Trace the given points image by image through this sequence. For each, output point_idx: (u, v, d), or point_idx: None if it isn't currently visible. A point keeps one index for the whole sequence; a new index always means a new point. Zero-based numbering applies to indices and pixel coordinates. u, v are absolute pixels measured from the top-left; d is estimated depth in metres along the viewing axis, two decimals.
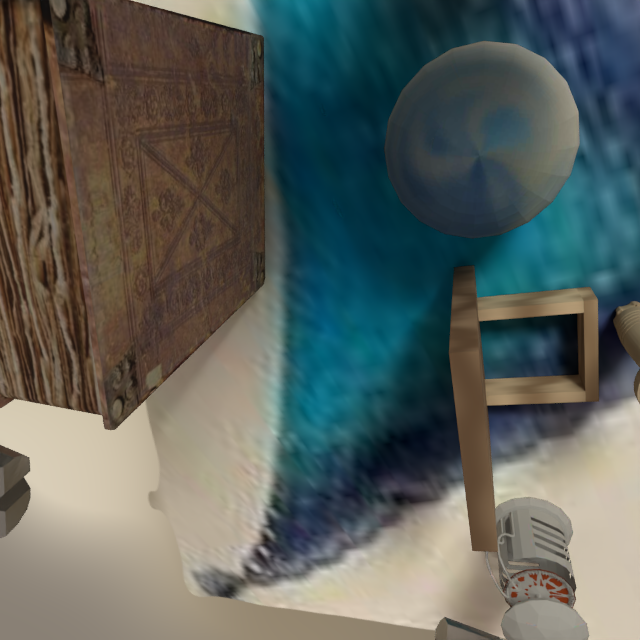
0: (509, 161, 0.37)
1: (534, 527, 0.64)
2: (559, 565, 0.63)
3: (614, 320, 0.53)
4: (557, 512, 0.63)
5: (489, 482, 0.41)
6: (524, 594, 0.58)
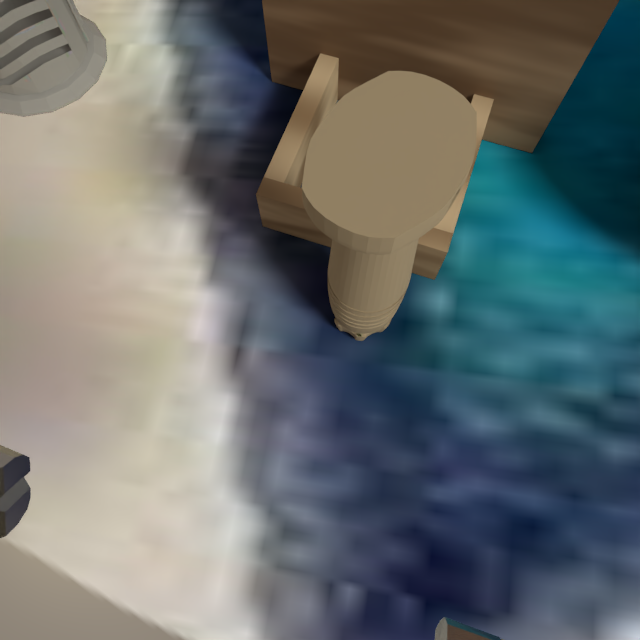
0: None
1: (42, 57, 0.36)
2: None
3: None
4: (50, 100, 0.36)
5: None
6: None
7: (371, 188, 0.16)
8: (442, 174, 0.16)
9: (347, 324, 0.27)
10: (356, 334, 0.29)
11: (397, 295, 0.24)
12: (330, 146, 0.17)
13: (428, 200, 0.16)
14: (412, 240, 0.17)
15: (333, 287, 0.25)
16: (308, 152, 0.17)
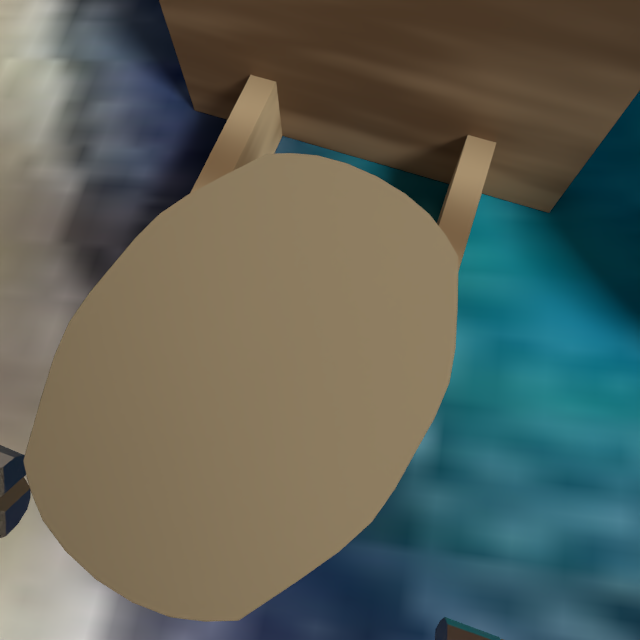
0: None
1: None
2: None
3: None
4: None
5: None
6: None
7: (194, 463, 0.07)
8: (373, 423, 0.07)
9: None
10: None
11: None
12: (111, 343, 0.07)
13: (332, 502, 0.06)
14: None
15: None
16: (57, 360, 0.07)
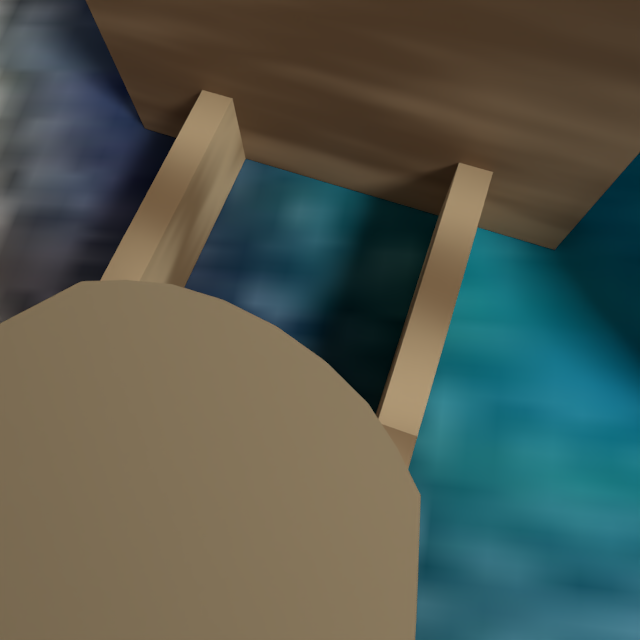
0: None
1: None
2: None
3: None
4: None
5: None
6: None
7: None
8: None
9: None
10: None
11: None
12: None
13: None
14: None
15: None
16: None
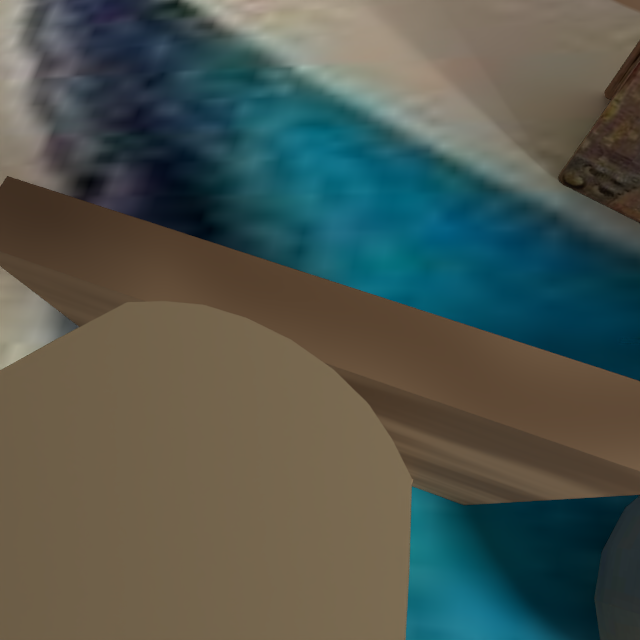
0: None
1: None
2: None
3: None
4: None
5: None
6: None
7: None
8: None
9: None
10: None
11: None
12: None
13: None
14: None
15: None
16: None
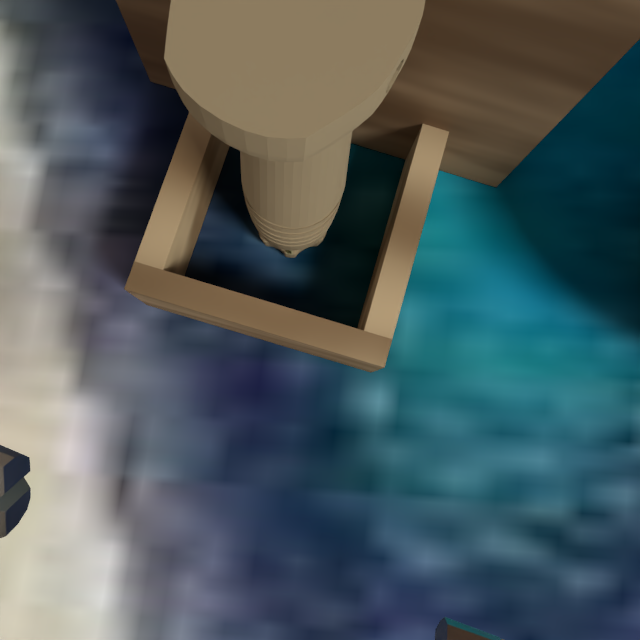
0: None
1: None
2: None
3: None
4: None
5: None
6: None
7: (270, 59, 0.11)
8: (377, 37, 0.11)
9: (272, 241, 0.23)
10: (285, 251, 0.24)
11: (328, 207, 0.19)
12: None
13: (354, 79, 0.11)
14: (334, 140, 0.12)
15: (248, 197, 0.19)
16: (173, 0, 0.11)
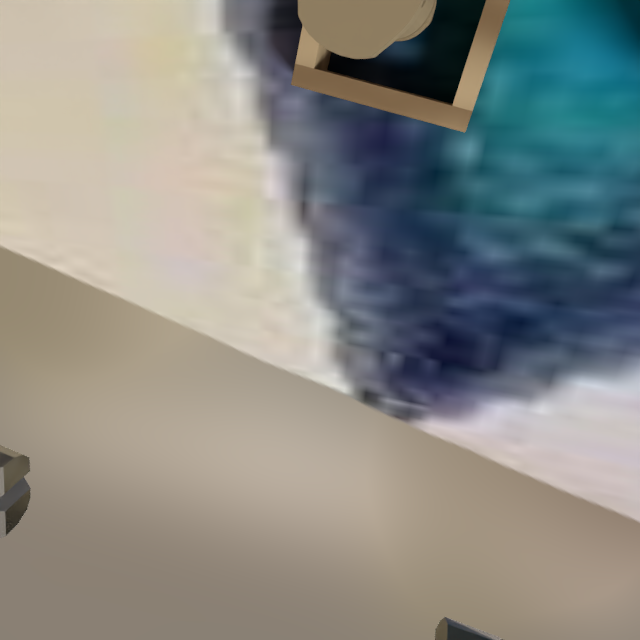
0: None
1: None
2: None
3: None
4: None
5: None
6: None
7: (351, 8, 0.20)
8: None
9: None
10: None
11: (419, 24, 0.27)
12: None
13: (397, 16, 0.20)
14: (391, 43, 0.21)
15: None
16: None
